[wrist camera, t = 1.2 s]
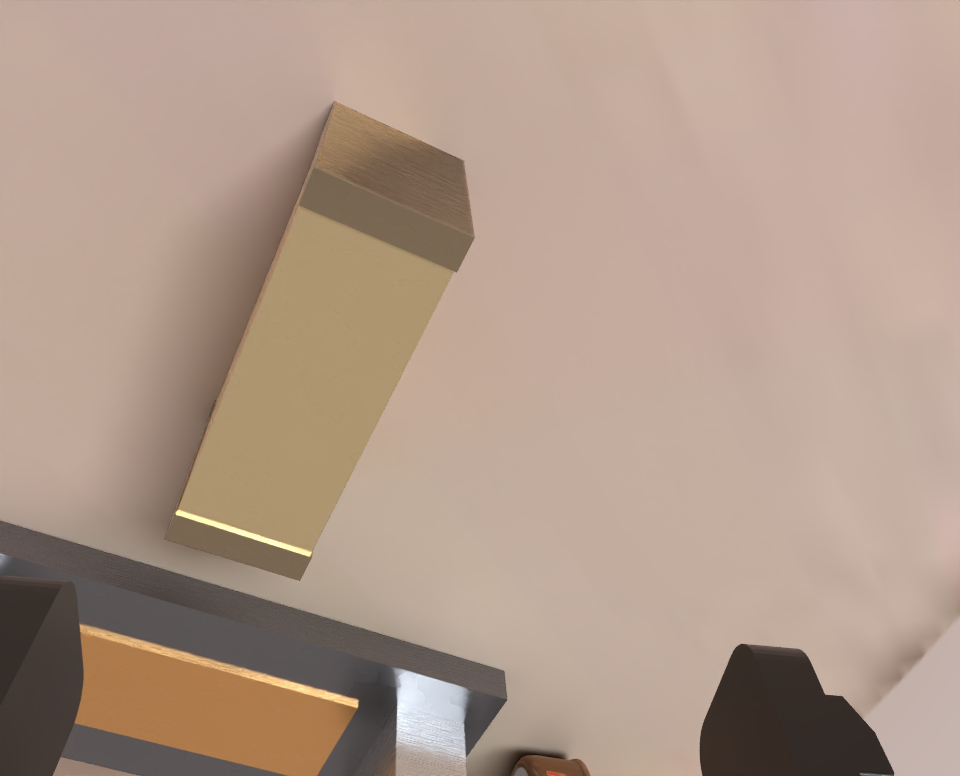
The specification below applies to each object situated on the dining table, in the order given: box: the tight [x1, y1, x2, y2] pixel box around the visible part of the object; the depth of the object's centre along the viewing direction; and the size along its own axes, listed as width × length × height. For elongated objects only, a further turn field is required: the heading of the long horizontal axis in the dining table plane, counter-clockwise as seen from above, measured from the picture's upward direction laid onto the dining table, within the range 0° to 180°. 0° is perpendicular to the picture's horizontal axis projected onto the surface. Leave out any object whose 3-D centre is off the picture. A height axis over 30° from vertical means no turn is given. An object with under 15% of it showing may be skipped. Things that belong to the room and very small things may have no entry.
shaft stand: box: [0, 521, 507, 776], centre depth 34 cm, size 25×10×10 cm, turn 64°
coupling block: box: [164, 101, 475, 581], centre depth 27 cm, size 12×4×6 cm, turn 154°
